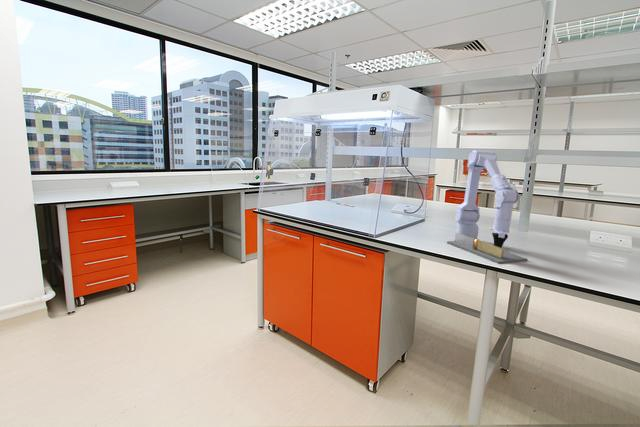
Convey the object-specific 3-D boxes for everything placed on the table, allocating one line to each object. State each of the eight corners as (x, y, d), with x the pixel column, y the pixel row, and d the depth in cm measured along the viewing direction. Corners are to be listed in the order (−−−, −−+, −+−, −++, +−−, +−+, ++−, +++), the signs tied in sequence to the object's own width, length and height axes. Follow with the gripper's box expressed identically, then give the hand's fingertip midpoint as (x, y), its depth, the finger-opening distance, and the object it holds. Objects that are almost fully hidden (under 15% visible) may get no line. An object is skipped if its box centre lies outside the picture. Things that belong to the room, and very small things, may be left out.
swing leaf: (475, 247, 139) (477, 238, 138) (503, 258, 126) (504, 248, 125) (472, 247, 138) (474, 239, 138) (499, 258, 126) (501, 248, 125)
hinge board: (473, 241, 154) (473, 239, 154) (527, 260, 129) (527, 258, 128) (446, 243, 149) (447, 241, 149) (498, 263, 123) (498, 261, 123)
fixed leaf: (456, 241, 149) (457, 232, 148) (474, 248, 139) (475, 238, 139) (454, 241, 149) (455, 232, 148) (472, 248, 139) (474, 238, 138)
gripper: (490, 214, 136) (485, 244, 138) (492, 220, 123) (486, 253, 125) (509, 216, 133) (504, 247, 135) (513, 223, 120) (507, 257, 122)
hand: (497, 250), depth 130 cm, fingers closed
